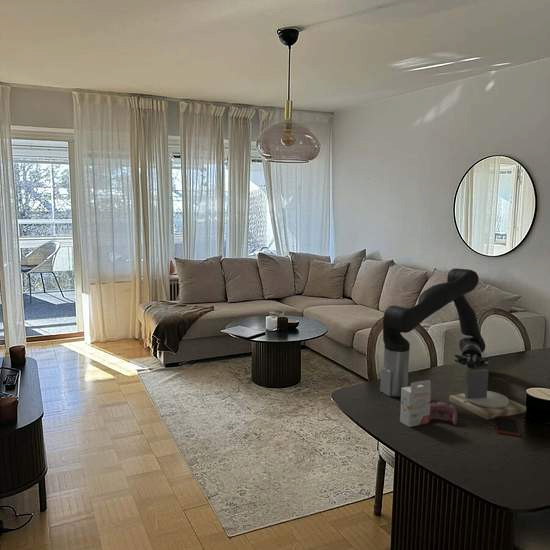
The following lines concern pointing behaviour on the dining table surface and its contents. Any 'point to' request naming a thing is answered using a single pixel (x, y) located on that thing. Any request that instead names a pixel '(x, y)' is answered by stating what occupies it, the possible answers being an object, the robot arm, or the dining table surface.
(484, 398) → the grey panel on disc
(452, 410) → the video game controller
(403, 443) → the dining table surface
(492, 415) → the dial base
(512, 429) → the smartphone
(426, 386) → the ink cartridge box
